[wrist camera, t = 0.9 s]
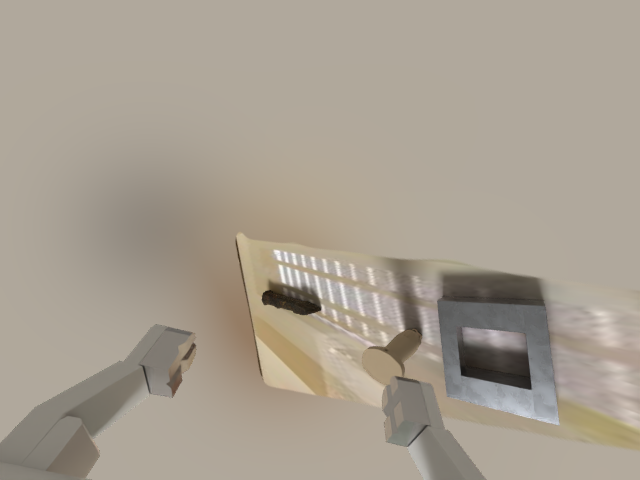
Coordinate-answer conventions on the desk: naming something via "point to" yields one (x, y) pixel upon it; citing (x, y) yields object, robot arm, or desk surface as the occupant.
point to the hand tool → (289, 303)
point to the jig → (492, 386)
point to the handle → (391, 356)
